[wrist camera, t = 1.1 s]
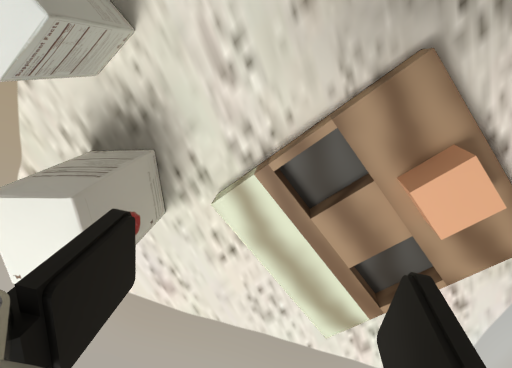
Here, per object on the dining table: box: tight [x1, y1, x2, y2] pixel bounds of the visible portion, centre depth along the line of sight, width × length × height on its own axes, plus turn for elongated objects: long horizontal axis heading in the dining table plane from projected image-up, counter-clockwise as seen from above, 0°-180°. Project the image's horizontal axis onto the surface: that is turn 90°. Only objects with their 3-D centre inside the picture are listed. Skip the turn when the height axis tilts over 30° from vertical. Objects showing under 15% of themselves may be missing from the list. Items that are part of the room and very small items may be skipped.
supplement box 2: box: [0, 150, 165, 284], centre depth 32 cm, size 9×9×15 cm
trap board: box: [211, 48, 512, 339], centre depth 35 cm, size 27×24×3 cm
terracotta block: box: [397, 145, 507, 240], centre depth 29 cm, size 6×6×4 cm
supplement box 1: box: [0, 0, 135, 82], centre depth 27 cm, size 7×7×13 cm
